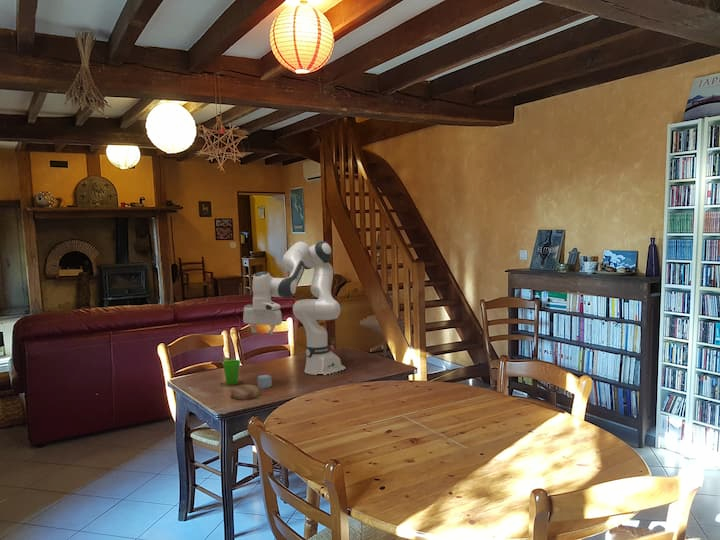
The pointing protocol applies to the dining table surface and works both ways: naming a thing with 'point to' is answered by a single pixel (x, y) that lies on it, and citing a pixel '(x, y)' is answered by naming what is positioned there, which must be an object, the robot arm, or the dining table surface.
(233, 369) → the cup
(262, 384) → the cube
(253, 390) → the trivet
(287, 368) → the dining table surface
